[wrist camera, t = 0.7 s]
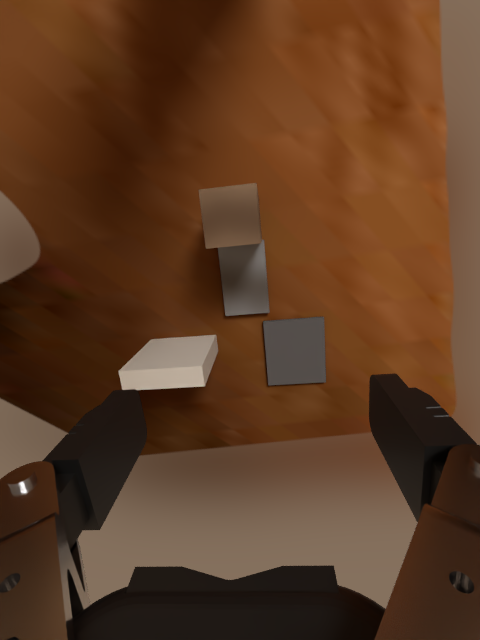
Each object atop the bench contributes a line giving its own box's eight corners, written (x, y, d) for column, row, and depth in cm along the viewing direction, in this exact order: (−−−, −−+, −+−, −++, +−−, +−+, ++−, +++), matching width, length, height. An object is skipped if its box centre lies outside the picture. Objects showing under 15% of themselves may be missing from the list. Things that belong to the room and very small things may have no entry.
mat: (263, 321, 33) (263, 322, 32) (323, 316, 32) (323, 317, 32) (268, 383, 34) (268, 385, 34) (325, 380, 34) (325, 382, 33)
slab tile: (151, 339, 34) (118, 371, 26) (216, 334, 33) (201, 365, 26) (154, 356, 35) (123, 392, 27) (218, 352, 34) (205, 387, 26)
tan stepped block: (213, 200, 30) (195, 190, 22) (260, 195, 29) (259, 182, 22) (226, 314, 33) (214, 340, 25) (269, 311, 32) (271, 336, 25)
